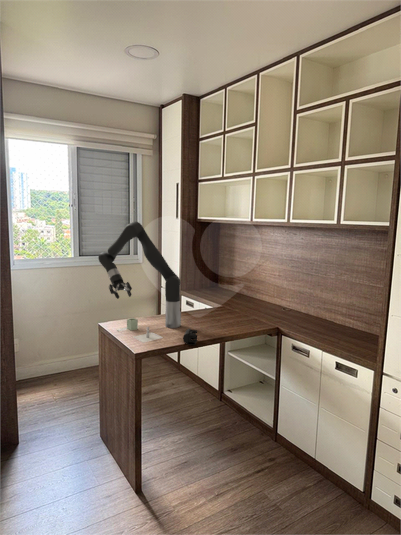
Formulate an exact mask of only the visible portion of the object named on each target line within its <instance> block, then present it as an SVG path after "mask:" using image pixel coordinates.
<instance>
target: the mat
mask: <svg viewBox="0 0 401 535" xmlns="http://www.w3.org/2000/svg"><path fill="white" fill-rule="evenodd" d="M127 330H128V329H127V326H126V327H123V328H118V329H116V332H121V331H122V332H123V331H127Z"/></svg>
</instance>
